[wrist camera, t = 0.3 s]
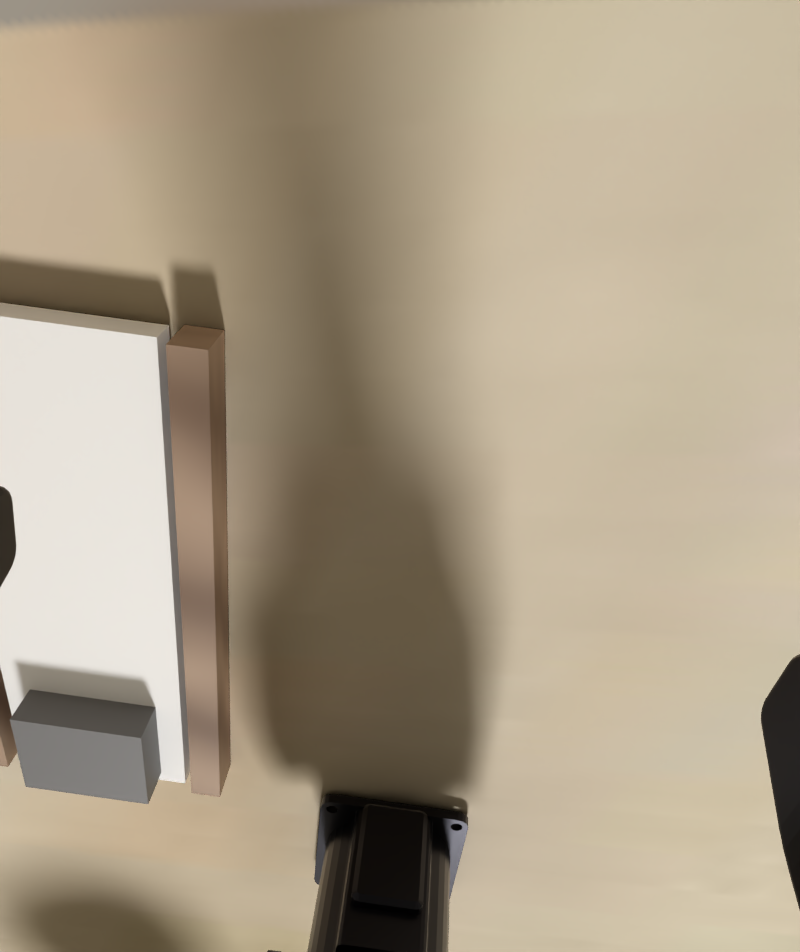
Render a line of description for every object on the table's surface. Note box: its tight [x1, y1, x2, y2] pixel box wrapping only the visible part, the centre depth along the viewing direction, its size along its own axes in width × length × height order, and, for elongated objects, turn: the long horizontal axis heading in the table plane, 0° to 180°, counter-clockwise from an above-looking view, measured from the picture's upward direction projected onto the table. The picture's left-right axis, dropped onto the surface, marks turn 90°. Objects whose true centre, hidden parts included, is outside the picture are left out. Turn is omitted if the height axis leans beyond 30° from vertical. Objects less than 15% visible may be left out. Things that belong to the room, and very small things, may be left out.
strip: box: [0, 303, 190, 804], centre depth 26 cm, size 20×7×2 cm, turn 174°
